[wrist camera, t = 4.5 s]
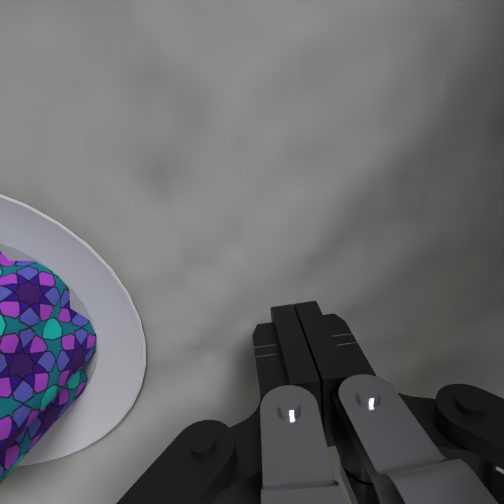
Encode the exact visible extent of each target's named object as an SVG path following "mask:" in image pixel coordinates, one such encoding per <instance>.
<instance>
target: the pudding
mask: <svg viewBox="0 0 504 504" xmlns="http://www.w3.org/2000/svg"><path fill="white" fill-rule="evenodd" d="M0 243H1V244H4V245H6V246H9V247H12V248H15V249H17V250H19V251H21V252H23V253H25V254H26V255H28V256H30V257H32V258H34V259H36V260H38V261H39V262H40V263H42V264H43V265H45V266H46V267H48V268H49V269H50V270H49V269H47V268H45V267H44V266H42V265H40V264H38V263H37V262H35V261H9V260H8V259H7V258H6V257H5V256H4V255H3V254H2V253H1V252H0V484H1V482H2V481H3V480H4V479H5V478H6V477H7V476H8V475H9V473H10V472H11V471H12V470H13V469H14V468H15V467H16V466H23V465H31V464H39V463H43V462H47V461H51V460H55V459H59V458H63V457H65V456H68V455H70V454H72V453H75V452H77V451H80V450H82V449H85V448H86V447H88V446H90V445H91V444H93V443H94V442H96V441H98V440H99V439H101V438H103V437H104V436H105V435H106V434H108V433H109V432H110V431H111V430H112V429H113V428H114V427H115V426H117V425H118V424H119V423H120V422H121V420H122V419H123V418H124V417H125V415H126V414H127V413H128V411H129V410H130V409H131V407H132V406H133V404H134V402H135V400H136V397H137V395H138V393H139V391H140V389H141V387H142V382H143V377H144V373H145V368H146V341H145V337H144V333H143V329H142V325H141V320H140V317H139V315H138V313H137V310H136V308H135V306H134V304H133V302H132V300H131V297H130V295H129V293H128V292H127V290H126V289H125V287H124V286H123V284H122V283H121V282H120V280H119V279H118V277H117V276H116V274H115V273H114V271H113V270H112V269H111V267H110V266H109V265H108V264H107V263H106V262H105V261H104V260H103V259H102V258H101V257H100V256H99V255H98V254H97V253H96V252H95V251H94V250H93V249H92V248H91V247H90V246H89V245H88V244H87V243H86V242H84V241H83V240H82V239H80V238H79V237H78V236H76V235H75V234H74V233H72V232H71V231H70V230H68V229H67V228H66V227H64V226H63V225H62V224H60V223H59V222H57V221H55V220H54V219H52V218H50V217H48V216H46V215H45V214H43V213H41V212H39V211H37V210H36V209H34V208H32V207H30V206H28V205H27V204H24V203H22V202H19V201H16V200H14V199H11V198H9V197H6V196H3V195H1V194H0ZM51 270H52V271H53V272H52V271H51ZM54 272H55V273H56V274H57V275H58V276H59V277H60V278H61V279H62V280H63V281H64V282H65V283H67V284H68V285H69V286H70V287H71V288H72V290H73V291H74V292H75V294H76V295H77V296H78V297H79V299H80V300H81V301H82V303H83V304H84V306H85V308H86V310H87V312H88V313H89V315H90V317H91V319H92V322H93V325H94V328H95V332H96V334H95V332H94V330H93V328H92V325H91V323H90V321H89V320H88V319H86V318H85V317H83V316H81V315H80V314H78V313H77V312H75V311H73V310H72V309H70V300H69V289H68V287H67V286H66V285H65V284H64V283H63V282H62V280H61V279H60V278H59V277H58V276H57V275H56V274H55V273H54ZM96 335H97V342H98V358H97V365H96V369H95V372H94V374H93V377H92V379H91V381H90V383H89V384H88V386H87V387H86V389H85V390H84V392H83V393H82V391H83V389H84V387H85V385H86V383H87V381H88V378H87V375H86V373H85V370H84V368H83V365H84V364H85V363H86V362H87V360H88V359H89V358H90V357H91V356H92V355H93V354H94V353H95V351H96ZM81 393H82V394H81ZM80 394H81V395H80ZM79 395H80V396H79ZM78 396H79V397H78ZM77 397H78V398H77Z"/></svg>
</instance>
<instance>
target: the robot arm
mask: <svg viewBox="0 0 504 504" xmlns="http://www.w3.org/2000/svg"><path fill="white" fill-rule="evenodd" d="M271 318H272V322H271V323H264V324H257V327H256V329H255V331H254V333H253V343H254V350H255V358H256V365H257V373H258V380H259V387H260V395H261V399H260V403H259V406H258V408H257V409H256V411H255V412H254V413H253V414H252V415H251V416H250V417H249V418H248V419H246V420H245V421H243V422H241V423H239V424H237V425H234V426H232V427H230V428H229V427H228V426H226V425H225V424H224V423H222V422H219V421H216V420H203V421H199V422H196V423H194V424H192V425H190V426H188V427H187V428H185V429H184V430H183V431H182V432H181V433H180V434H179V435H178V436H177V437H176V438H175V440H174V441H173V442H172V443H171V444H170V445H169V446H168V447H167V448H166V449H165V451H164V452H163V453H162V454H161V455H160V456H159V457H158V458H157V459H156V460H155V462H154V463H153V464H152V465H151V466H150V467H149V468H148V469H147V470H146V471H145V473H144V474H143V475H142V476H141V477H140V478H139V479H138V480H137V481H136V482H135V484H134V485H133V486H132V487H131V488H130V489H129V490H128V491H127V492H126V493H125V495H124V496H123V497H122V498H121V499H120V500H119V501H118V502H117V503H116V504H344V500H343V496H342V492H341V489H340V486H339V483H338V482H337V481H335V479H334V475H333V471H332V466H331V462H330V457H329V453H328V449H327V447H330V446H336V448H337V451H338V454H339V457H340V473H341V476H342V479H343V481H344V484H345V486H346V489H347V491H348V494H349V496H350V499H351V501H352V504H504V474H502V473H501V472H499V471H497V470H496V467H497V466H498V467H500V468H501V469H503V470H504V399H503V398H501V397H498V396H496V395H494V394H491V393H489V392H487V391H485V390H482V389H480V388H477V387H474V386H471V385H466V384H451V385H447V386H444V387H443V388H441V389H440V390H439V391H438V393H437V396H436V399H430V398H421V397H412V396H407V395H403V394H400V393H397V392H396V390H395V389H394V388H393V386H392V385H390V384H389V383H388V382H387V381H385V380H383V379H381V378H379V377H377V376H376V375H375V373H374V371H373V369H372V367H371V366H370V364H369V362H368V360H367V359H366V357H365V355H364V353H363V352H362V350H361V348H360V346H359V345H358V343H357V342H356V339H355V338H354V336H353V334H352V333H351V331H350V329H349V327H348V325H347V323H346V322H345V321H344V320H342V319H341V318H340V317H338V316H337V315H335V314H328V315H323V314H322V312H321V310H320V308H319V306H318V304H317V302H316V301H311V302H304V303H297V304H294V305H293V304H290V305H283V306H276V307H271Z"/></svg>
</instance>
